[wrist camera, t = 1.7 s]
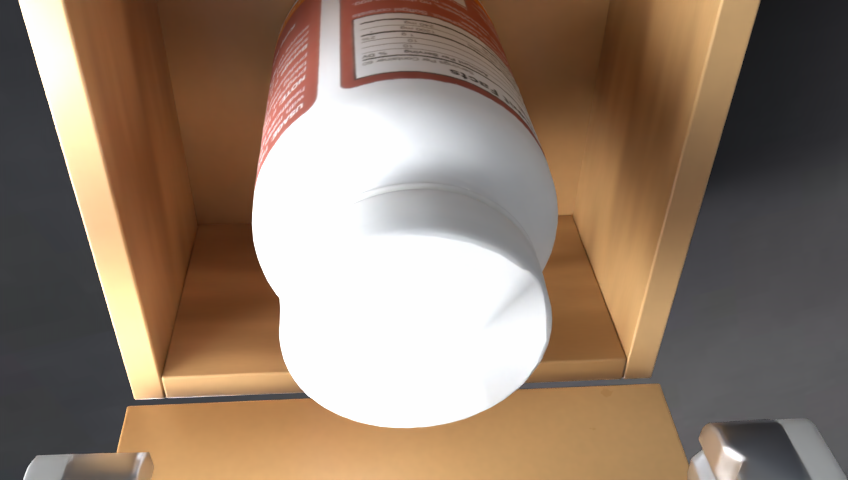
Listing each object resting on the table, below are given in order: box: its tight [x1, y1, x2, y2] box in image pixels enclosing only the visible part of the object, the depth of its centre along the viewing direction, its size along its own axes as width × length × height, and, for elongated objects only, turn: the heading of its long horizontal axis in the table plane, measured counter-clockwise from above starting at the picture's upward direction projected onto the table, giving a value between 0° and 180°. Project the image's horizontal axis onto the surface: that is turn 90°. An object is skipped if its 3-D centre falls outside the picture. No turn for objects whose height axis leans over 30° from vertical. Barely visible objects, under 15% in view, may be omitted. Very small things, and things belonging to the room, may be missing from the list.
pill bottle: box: [252, 0, 558, 428], centre depth 18 cm, size 6×6×11 cm
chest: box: [19, 0, 761, 400], centre depth 20 cm, size 13×14×7 cm
